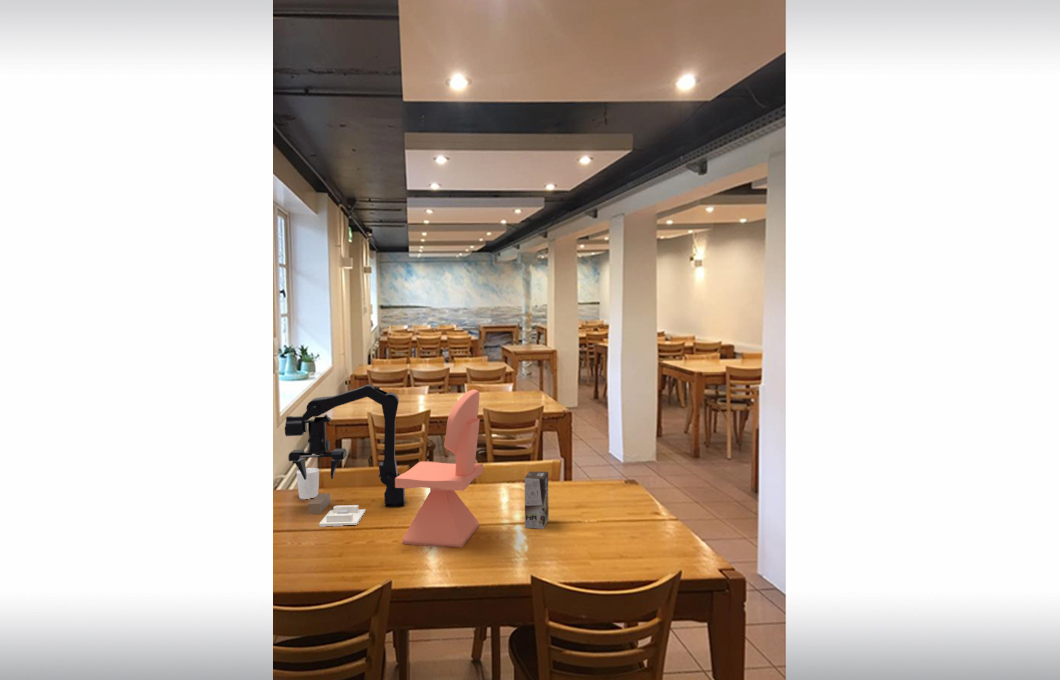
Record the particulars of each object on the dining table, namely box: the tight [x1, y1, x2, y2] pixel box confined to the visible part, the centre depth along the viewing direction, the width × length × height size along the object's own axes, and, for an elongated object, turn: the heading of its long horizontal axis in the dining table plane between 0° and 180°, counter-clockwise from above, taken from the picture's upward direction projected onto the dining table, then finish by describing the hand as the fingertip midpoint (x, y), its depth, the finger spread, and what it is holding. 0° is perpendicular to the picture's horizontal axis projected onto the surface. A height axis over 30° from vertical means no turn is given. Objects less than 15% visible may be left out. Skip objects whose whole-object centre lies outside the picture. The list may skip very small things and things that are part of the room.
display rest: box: [318, 504, 366, 528], centre depth 219 cm, size 12×14×3 cm
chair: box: [395, 388, 484, 549], centre depth 202 cm, size 27×22×45 cm
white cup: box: [296, 467, 320, 500], centre depth 245 cm, size 8×8×10 cm
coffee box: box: [524, 471, 550, 530], centre depth 212 cm, size 9×6×16 cm
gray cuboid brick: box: [307, 492, 331, 515], centre depth 231 cm, size 12×4×4 cm, turn 1°
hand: (318, 479), depth 230 cm, fingers open, 9 cm apart
